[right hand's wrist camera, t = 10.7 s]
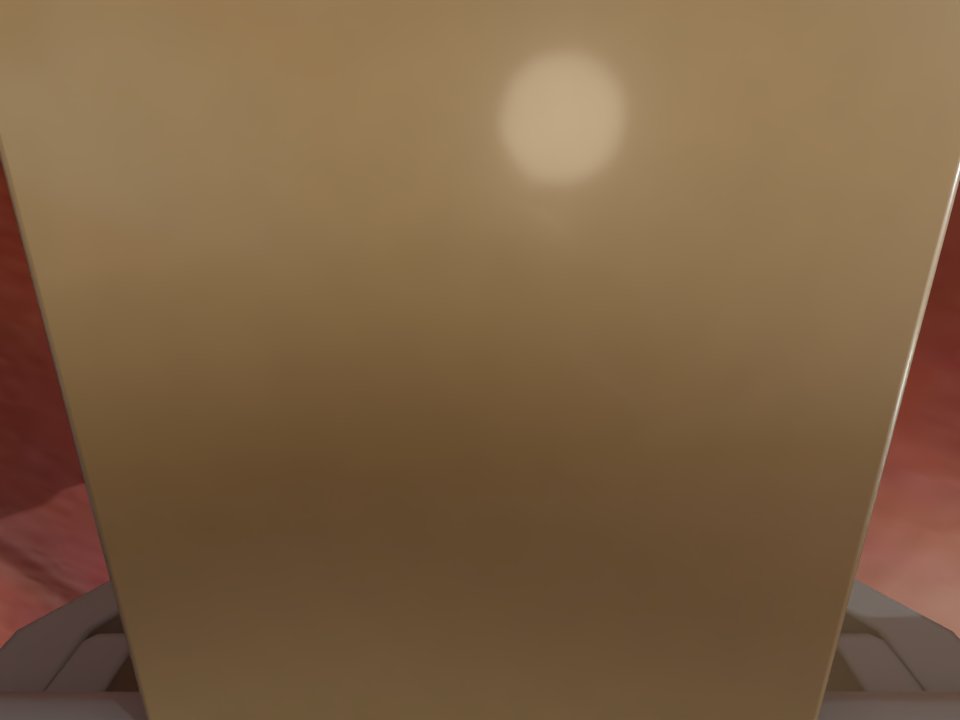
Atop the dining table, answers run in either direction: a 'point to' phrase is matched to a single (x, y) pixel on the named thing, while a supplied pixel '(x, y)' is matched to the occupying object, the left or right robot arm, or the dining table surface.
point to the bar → (481, 337)
